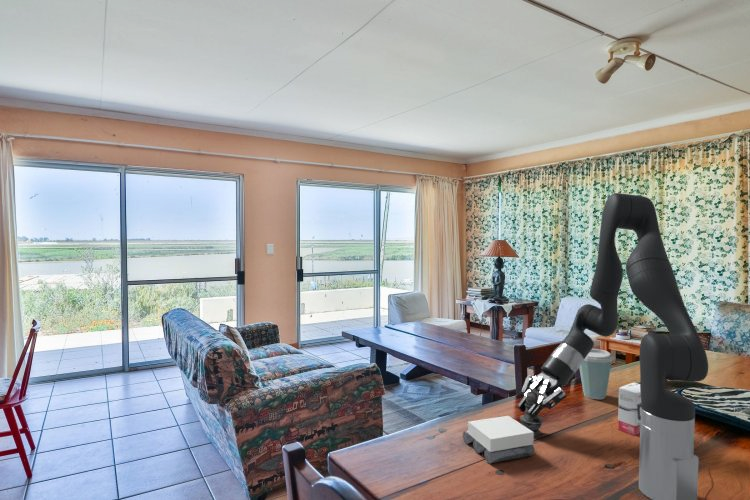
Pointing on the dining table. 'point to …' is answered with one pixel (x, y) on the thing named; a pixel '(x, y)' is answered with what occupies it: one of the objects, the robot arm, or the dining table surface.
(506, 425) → the slab
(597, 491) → the dining table surface
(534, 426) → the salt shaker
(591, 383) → the disposable coffee cup
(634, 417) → the ink box
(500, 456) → the roller track
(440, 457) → the dining table surface
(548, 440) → the dining table surface
